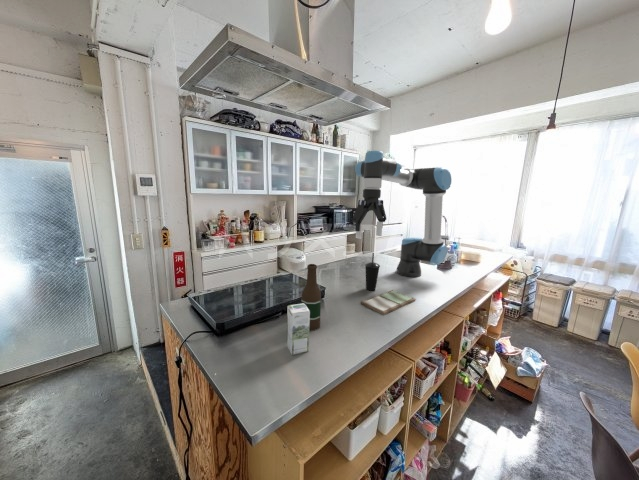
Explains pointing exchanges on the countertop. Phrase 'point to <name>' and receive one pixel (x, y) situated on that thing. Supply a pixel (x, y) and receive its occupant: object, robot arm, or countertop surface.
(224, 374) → the countertop surface
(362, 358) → the countertop surface
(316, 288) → the beer bottle
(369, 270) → the drinking cup
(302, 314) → the syrup box
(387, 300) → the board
